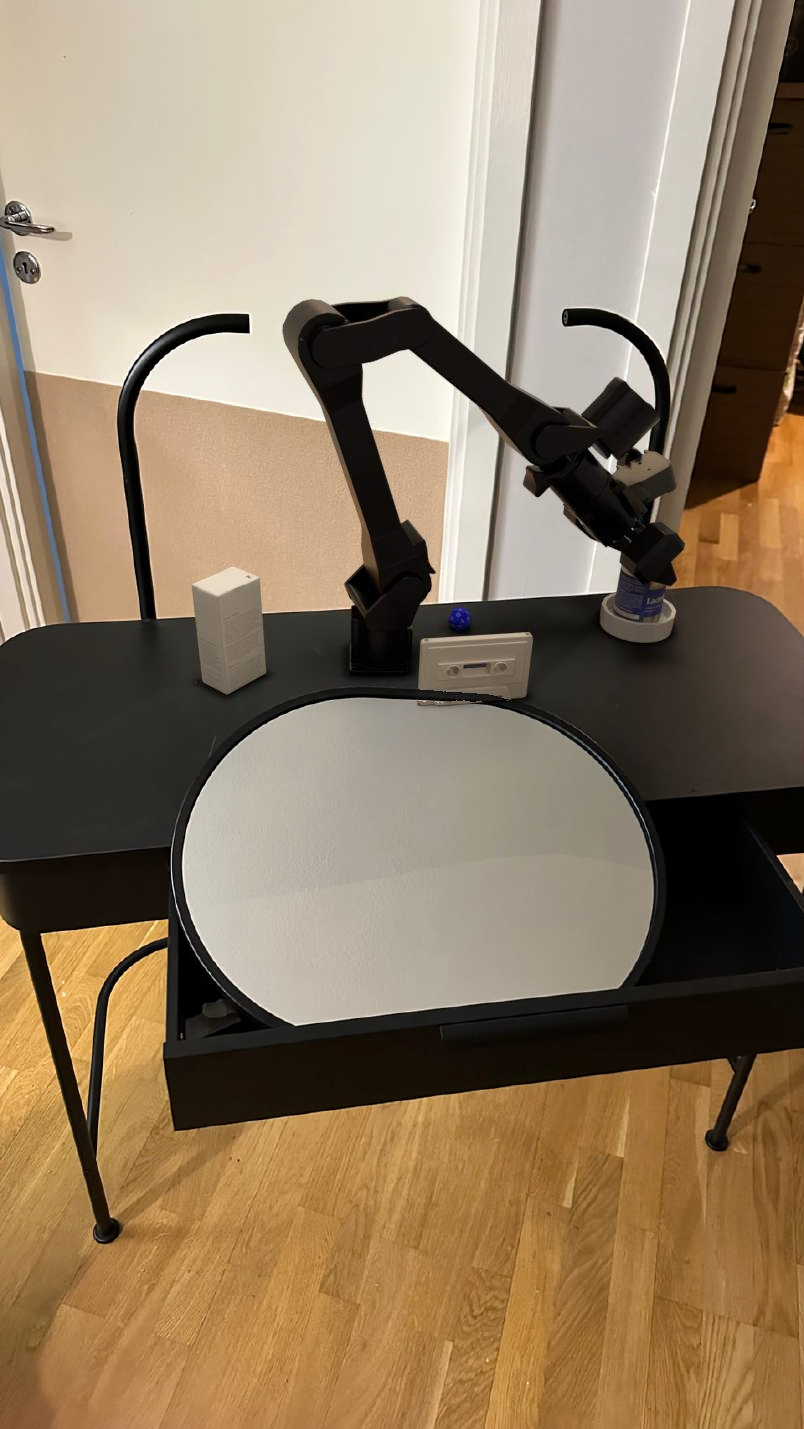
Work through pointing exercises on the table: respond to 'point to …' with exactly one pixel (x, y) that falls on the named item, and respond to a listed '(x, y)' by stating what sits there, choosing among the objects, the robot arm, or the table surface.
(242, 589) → the cosmetic box
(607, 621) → the dish
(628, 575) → the pill bottle
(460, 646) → the cassette
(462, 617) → the die
